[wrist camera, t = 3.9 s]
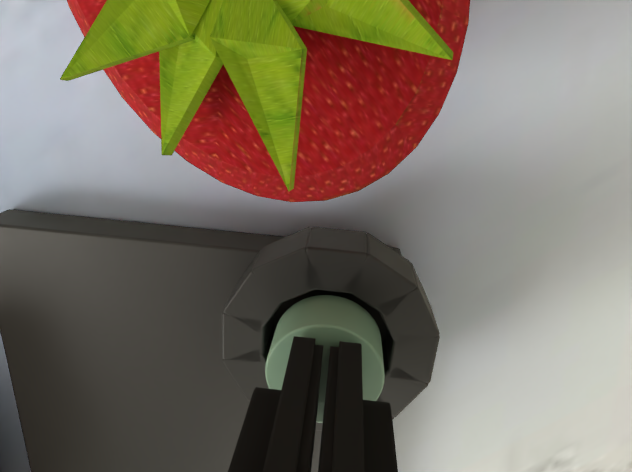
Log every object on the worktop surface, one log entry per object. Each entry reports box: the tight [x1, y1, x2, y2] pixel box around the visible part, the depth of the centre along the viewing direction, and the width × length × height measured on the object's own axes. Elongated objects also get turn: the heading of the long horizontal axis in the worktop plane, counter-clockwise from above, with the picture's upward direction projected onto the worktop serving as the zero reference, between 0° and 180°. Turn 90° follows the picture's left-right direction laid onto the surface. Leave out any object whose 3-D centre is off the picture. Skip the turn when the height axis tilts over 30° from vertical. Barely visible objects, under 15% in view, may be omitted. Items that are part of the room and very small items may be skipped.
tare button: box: [265, 295, 385, 423], centre depth 12 cm, size 3×3×2 cm
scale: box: [0, 210, 439, 472], centre depth 15 cm, size 14×14×3 cm
